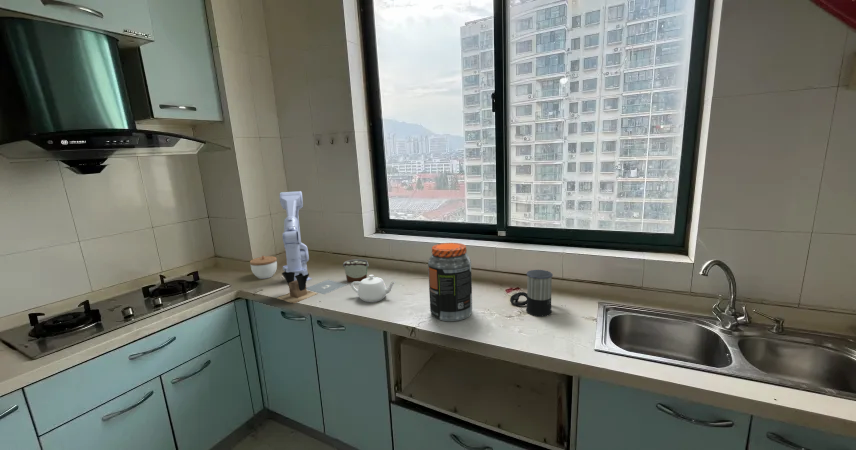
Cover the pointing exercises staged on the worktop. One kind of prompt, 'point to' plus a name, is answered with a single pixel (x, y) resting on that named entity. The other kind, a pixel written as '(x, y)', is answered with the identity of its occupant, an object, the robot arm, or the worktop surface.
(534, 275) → the milk frother
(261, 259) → the lidded bowl
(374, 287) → the teapot
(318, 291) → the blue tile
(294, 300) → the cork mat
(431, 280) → the supplement tub
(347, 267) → the food container
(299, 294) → the walnut block
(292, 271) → the robot arm
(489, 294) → the worktop surface
